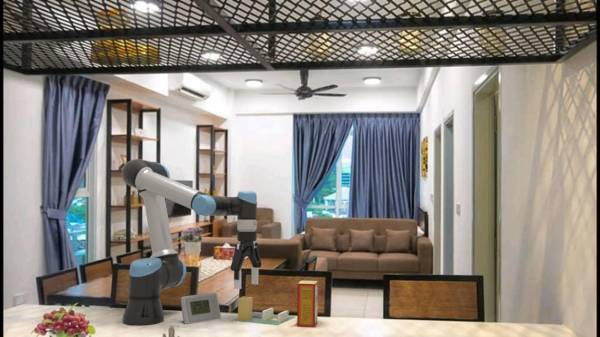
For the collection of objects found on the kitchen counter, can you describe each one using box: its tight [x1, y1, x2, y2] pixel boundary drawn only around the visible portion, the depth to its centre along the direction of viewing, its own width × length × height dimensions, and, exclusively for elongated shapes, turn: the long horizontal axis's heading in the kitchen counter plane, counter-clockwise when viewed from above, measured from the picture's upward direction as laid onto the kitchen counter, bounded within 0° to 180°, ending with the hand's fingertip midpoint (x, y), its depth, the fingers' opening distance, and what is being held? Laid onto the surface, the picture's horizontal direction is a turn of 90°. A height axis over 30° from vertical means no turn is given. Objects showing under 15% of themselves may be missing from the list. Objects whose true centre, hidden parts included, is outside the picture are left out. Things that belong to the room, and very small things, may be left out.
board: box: [230, 307, 296, 326], centre depth 187 cm, size 20×17×5 cm
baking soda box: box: [296, 280, 319, 328], centre depth 184 cm, size 10×6×16 cm
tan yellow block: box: [237, 296, 254, 320], centre depth 186 cm, size 4×4×8 cm
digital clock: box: [180, 292, 222, 327], centre depth 183 cm, size 16×9×11 cm, turn 123°
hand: (246, 286), depth 187 cm, fingers open, 13 cm apart
